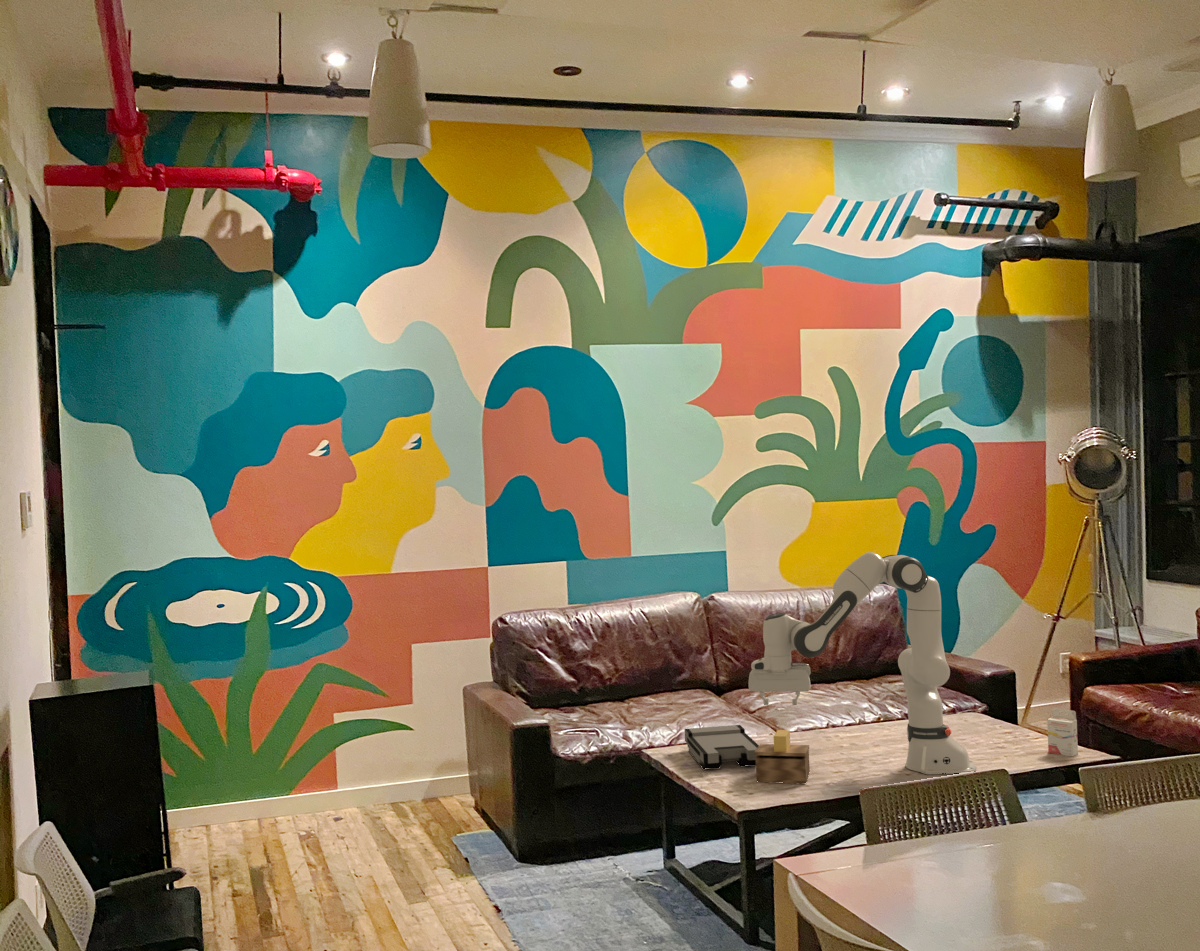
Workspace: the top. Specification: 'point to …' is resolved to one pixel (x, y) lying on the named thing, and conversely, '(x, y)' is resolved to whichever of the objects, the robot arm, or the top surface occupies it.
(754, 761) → the game console
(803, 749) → the box lid
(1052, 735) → the ink cartridge box
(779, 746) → the yellow block
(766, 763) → the wooden box
